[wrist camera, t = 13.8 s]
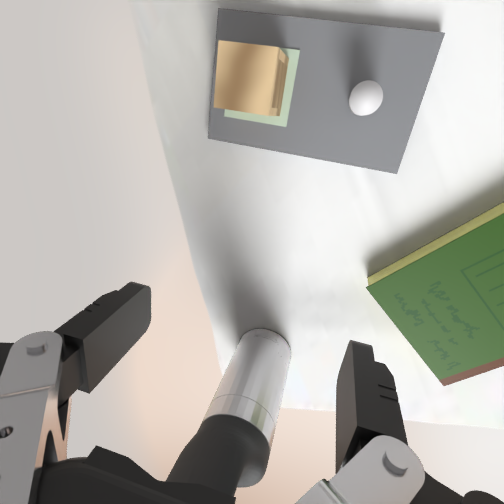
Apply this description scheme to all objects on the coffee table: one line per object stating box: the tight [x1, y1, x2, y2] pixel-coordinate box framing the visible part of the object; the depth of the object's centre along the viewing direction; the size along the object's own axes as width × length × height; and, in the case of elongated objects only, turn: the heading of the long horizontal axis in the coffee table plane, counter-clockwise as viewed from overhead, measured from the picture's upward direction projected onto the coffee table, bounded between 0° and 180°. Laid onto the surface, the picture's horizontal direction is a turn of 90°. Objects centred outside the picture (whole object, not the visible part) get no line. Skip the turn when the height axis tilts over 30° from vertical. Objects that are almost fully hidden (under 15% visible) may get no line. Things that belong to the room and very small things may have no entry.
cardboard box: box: [214, 40, 289, 116], centre depth 34 cm, size 6×6×6 cm
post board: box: [208, 8, 445, 174], centre depth 34 cm, size 14×24×8 cm, turn 82°
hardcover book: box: [366, 202, 504, 386], centre depth 39 cm, size 25×19×4 cm
